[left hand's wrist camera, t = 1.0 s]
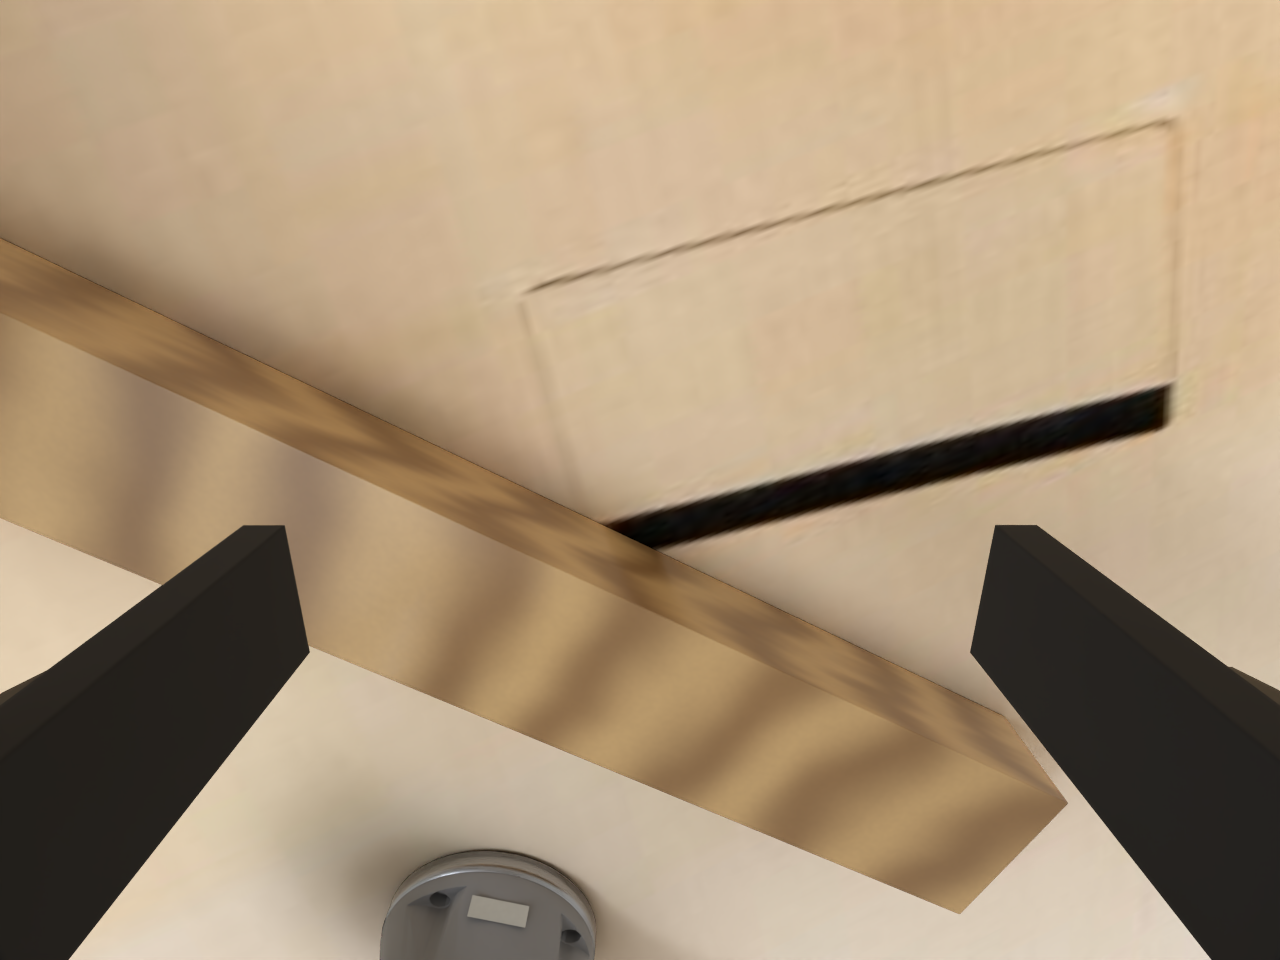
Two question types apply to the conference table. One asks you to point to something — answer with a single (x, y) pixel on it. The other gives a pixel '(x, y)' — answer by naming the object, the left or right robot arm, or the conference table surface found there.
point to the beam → (497, 594)
